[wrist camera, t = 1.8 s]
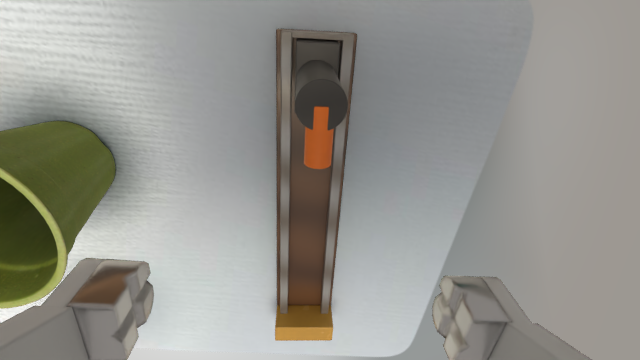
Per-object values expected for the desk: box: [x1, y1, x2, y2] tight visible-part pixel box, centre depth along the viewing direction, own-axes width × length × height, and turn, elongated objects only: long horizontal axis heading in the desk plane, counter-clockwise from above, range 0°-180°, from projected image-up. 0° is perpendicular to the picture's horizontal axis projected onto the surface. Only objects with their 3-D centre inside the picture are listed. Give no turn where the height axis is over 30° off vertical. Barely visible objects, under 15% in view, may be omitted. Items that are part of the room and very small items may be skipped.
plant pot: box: [0, 121, 115, 308], centre depth 25 cm, size 12×12×11 cm
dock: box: [275, 305, 333, 340], centre depth 37 cm, size 2×6×3 cm, turn 87°
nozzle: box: [295, 38, 348, 169], centre depth 22 cm, size 6×3×10 cm, turn 177°
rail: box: [276, 28, 357, 314], centre depth 32 cm, size 31×6×3 cm, turn 177°
